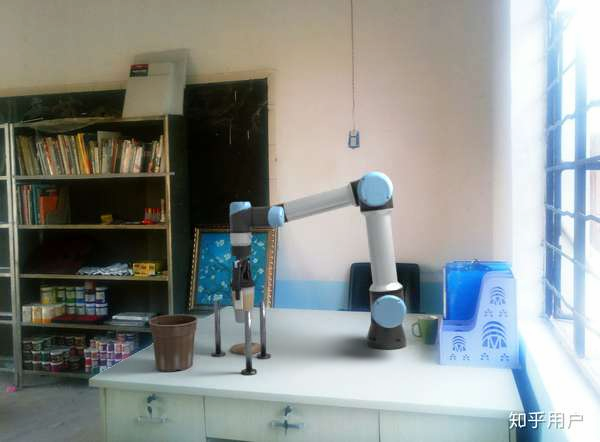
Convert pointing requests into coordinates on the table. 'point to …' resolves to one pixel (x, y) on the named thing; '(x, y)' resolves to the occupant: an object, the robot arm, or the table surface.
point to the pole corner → (263, 332)
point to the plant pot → (173, 341)
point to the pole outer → (248, 346)
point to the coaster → (241, 348)
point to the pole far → (217, 331)
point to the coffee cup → (244, 299)
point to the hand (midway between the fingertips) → (243, 305)
